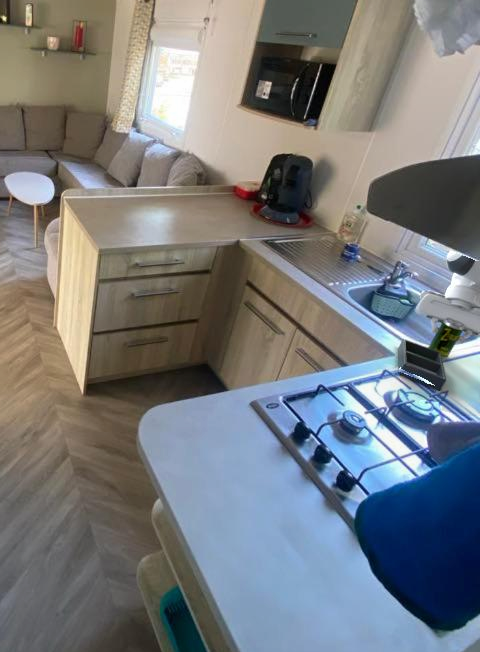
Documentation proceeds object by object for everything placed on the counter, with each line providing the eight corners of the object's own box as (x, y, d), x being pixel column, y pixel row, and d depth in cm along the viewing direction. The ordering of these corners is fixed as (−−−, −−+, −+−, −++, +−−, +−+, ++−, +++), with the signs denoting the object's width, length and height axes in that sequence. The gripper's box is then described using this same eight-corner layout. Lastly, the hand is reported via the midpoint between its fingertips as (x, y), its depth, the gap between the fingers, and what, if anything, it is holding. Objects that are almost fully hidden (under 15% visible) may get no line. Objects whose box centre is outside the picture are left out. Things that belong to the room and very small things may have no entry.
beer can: (424, 346, 139) (442, 315, 134) (443, 351, 137) (461, 320, 133) (430, 355, 134) (448, 323, 129) (449, 361, 133) (468, 329, 128)
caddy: (434, 362, 130) (441, 352, 129) (439, 391, 117) (446, 380, 115) (397, 348, 135) (403, 338, 133) (398, 374, 122) (404, 363, 120)
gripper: (426, 284, 139) (411, 319, 136) (505, 310, 128) (491, 349, 125) (420, 292, 144) (406, 326, 141) (496, 318, 133) (482, 355, 130)
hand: (446, 337), depth 133 cm, fingers closed on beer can, 5 cm apart
